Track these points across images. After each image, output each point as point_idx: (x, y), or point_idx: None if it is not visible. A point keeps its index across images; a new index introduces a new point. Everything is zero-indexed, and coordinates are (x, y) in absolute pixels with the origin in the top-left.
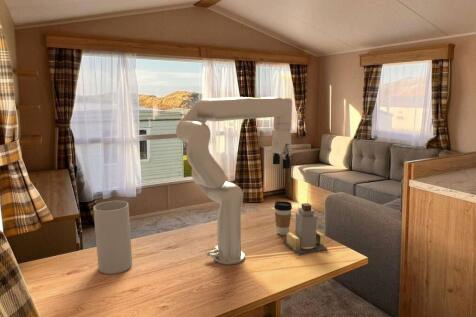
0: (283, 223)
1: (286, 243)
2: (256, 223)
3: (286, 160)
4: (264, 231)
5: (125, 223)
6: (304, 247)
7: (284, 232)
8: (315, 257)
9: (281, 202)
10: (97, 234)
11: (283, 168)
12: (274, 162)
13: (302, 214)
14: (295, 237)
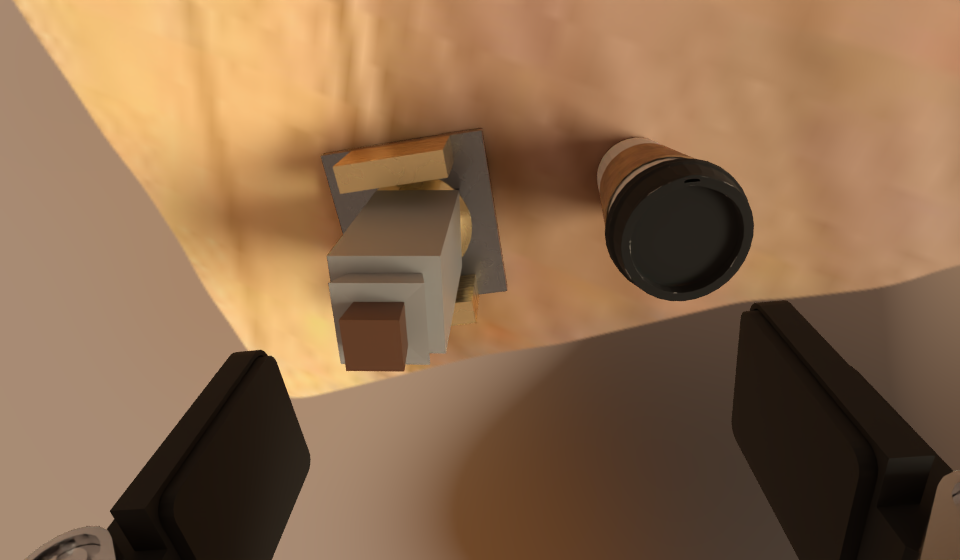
0: (604, 183)
1: (450, 135)
2: (850, 48)
3: (118, 543)
4: (688, 64)
5: None
6: None
7: (597, 175)
8: (297, 223)
9: (738, 241)
10: None
11: (239, 355)
12: (759, 346)
13: (355, 276)
14: (363, 175)
